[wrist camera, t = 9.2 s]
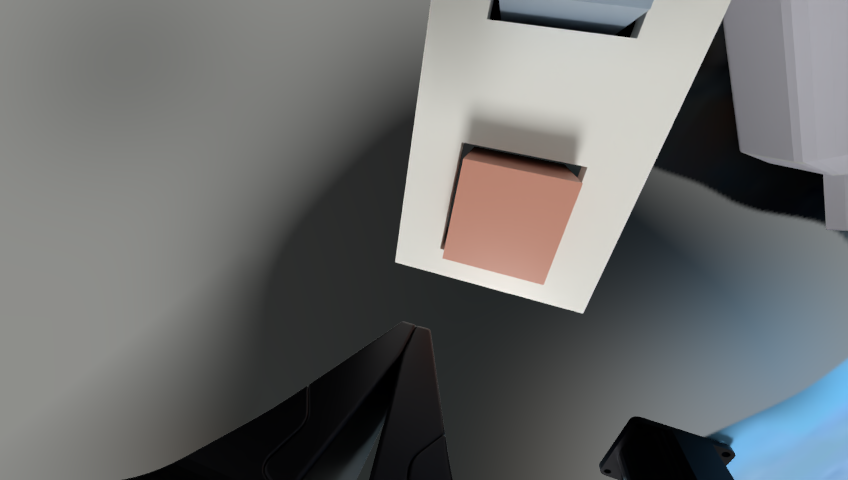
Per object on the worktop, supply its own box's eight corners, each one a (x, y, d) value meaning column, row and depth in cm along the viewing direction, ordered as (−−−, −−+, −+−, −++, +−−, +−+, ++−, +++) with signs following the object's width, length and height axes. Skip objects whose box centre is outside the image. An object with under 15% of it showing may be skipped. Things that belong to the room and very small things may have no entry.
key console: (567, 271, 19) (582, 313, 15) (417, 233, 21) (395, 262, 17) (740, -142, 12) (861, -274, 8) (479, -152, 13) (466, -264, 9)
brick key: (535, 244, 17) (543, 285, 13) (457, 225, 18) (442, 258, 14) (564, 164, 16) (582, 183, 12) (474, 146, 16) (463, 158, 12)
